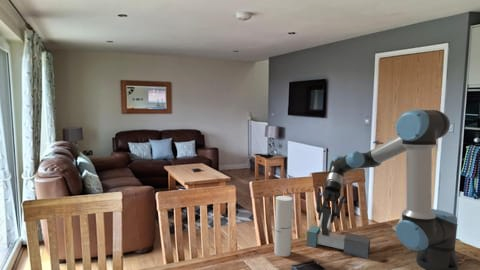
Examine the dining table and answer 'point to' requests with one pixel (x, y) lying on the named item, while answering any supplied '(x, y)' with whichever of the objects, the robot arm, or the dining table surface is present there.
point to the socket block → (312, 236)
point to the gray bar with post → (325, 235)
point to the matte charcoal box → (357, 245)
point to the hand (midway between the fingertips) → (324, 227)
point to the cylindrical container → (283, 226)
